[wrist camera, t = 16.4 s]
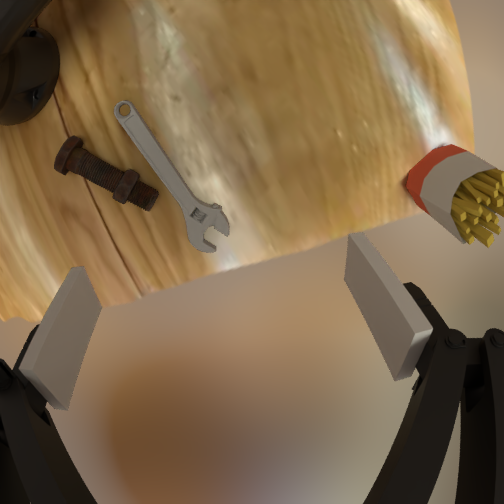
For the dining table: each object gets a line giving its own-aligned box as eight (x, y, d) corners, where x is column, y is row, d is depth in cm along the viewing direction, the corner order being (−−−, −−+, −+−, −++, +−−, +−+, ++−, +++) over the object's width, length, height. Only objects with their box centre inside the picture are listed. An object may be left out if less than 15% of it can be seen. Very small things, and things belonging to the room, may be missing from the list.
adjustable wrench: (113, 107, 34) (108, 108, 33) (153, 82, 33) (150, 82, 32) (200, 251, 47) (199, 257, 45) (238, 234, 46) (238, 239, 44)
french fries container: (396, 178, 42) (469, 233, 27) (441, 138, 39) (523, 176, 24) (409, 199, 44) (478, 258, 29) (452, 160, 41) (528, 203, 26)
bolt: (156, 196, 43) (72, 150, 37) (168, 177, 39) (77, 127, 34) (141, 227, 40) (51, 178, 34) (151, 209, 36) (53, 155, 30)
